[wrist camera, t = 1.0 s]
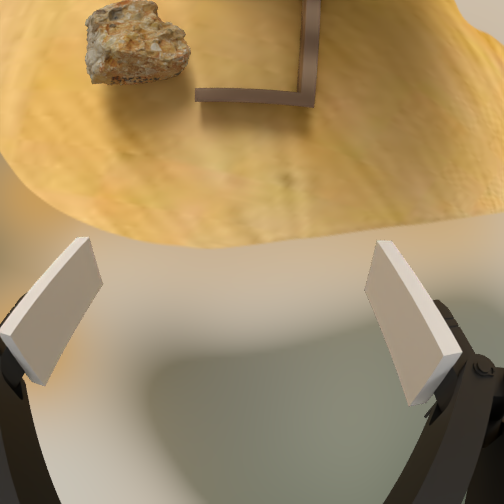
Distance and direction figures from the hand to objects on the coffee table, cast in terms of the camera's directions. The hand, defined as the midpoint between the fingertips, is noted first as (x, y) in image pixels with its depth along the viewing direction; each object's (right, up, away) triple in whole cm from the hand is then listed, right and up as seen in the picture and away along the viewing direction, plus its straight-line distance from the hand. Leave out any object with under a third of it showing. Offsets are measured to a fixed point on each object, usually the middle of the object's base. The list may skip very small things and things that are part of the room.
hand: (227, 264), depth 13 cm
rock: (-11, +25, +14) cm, 31 cm away
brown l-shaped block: (+2, +24, +14) cm, 28 cm away
